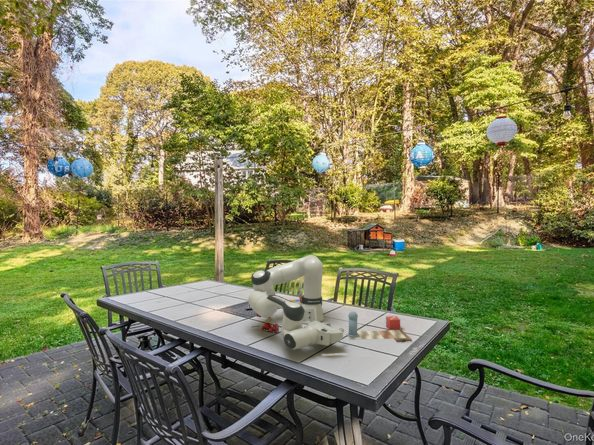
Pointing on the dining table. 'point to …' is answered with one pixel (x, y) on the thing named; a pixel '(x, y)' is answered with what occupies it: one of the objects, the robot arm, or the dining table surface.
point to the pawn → (353, 324)
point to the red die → (392, 322)
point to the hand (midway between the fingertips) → (336, 327)
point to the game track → (388, 334)
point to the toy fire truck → (269, 326)
